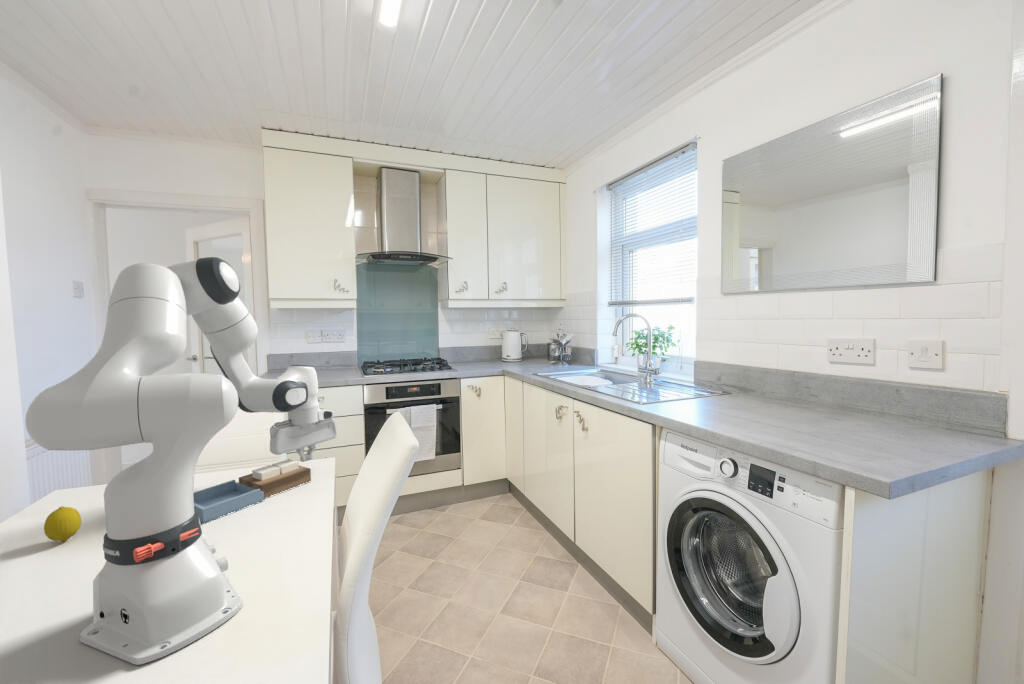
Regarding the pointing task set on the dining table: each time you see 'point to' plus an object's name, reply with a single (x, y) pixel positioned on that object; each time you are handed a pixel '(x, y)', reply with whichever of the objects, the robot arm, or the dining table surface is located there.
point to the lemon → (62, 524)
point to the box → (224, 499)
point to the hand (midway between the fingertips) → (306, 460)
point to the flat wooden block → (278, 481)
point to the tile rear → (286, 465)
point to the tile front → (266, 472)
